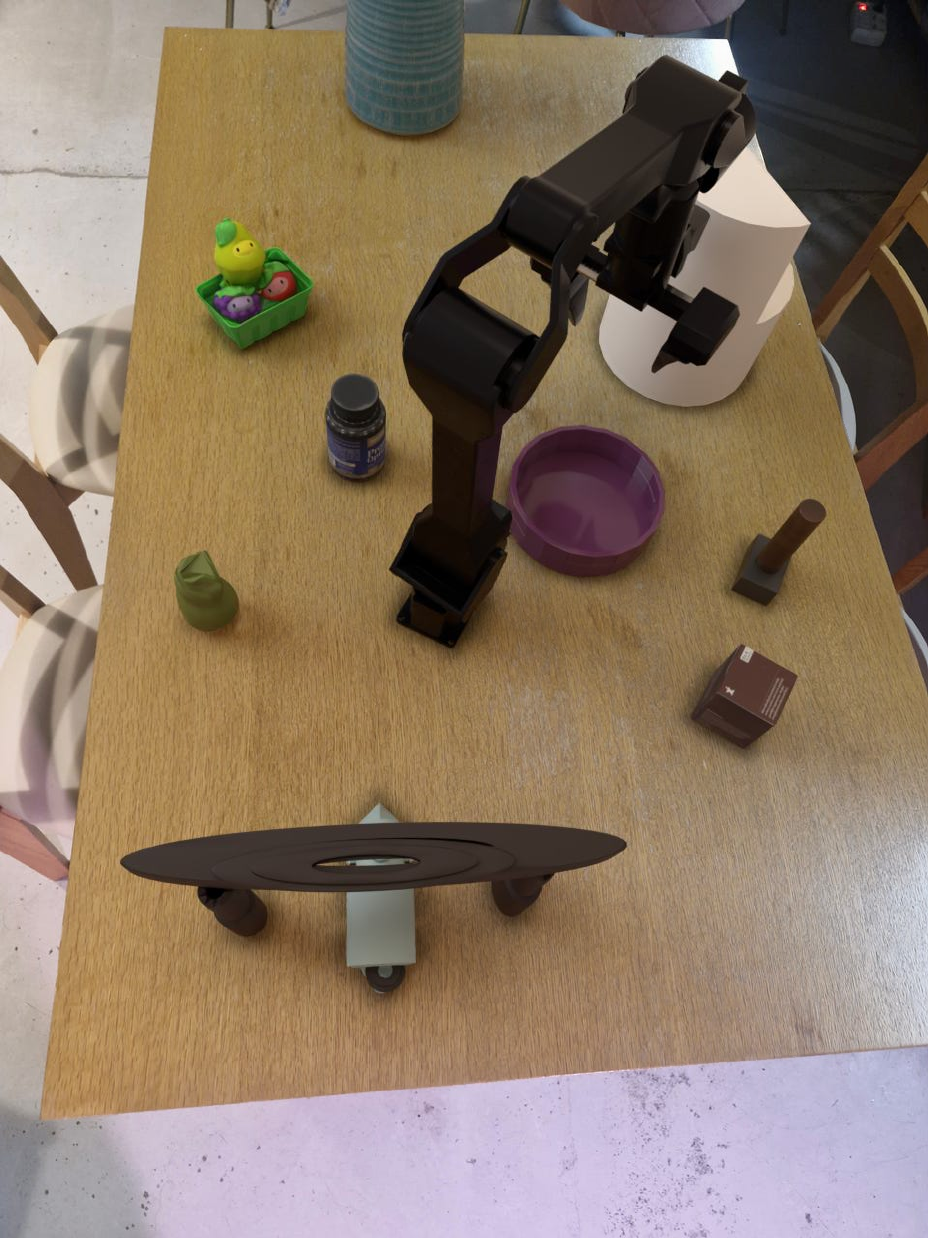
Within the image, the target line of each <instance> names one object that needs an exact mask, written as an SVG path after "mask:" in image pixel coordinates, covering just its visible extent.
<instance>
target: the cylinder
mask: <svg viewBox="0 0 928 1238" xmlns="http://www.w3.org/2000/svg"><path fill="white" fill-rule="evenodd" d="M695 204H696V205H698V206H700V207H701V208H703V209H705V210H706V211H708V212H709V214H710V218H709V220H708V223H707V225H706V227H705V229H704V231H703V233H702V235H701V237H700V240H699V242H698V244H697V246H696V248H695V250H694V251H691V252H690V253H689V254H688V255H687V258H686V261H685V264H684V266H683V269H682V271H681V272H680V273H679V275H678V276H677V277H676V278H673V277H672V276H670V279H669V282H668V284H670V285H671V286H673V287H675V288H677V289H679V290H680V291H682V292H684V293H686V294H687V295H689V296H691V297H693V298H695V297H696V296H697V294H698V293H699V292H700V290H701V289H702V288H703V287H706V288H708V289H710V290H712V291H714V292H715V293H717V294H719V295H721V296H722V297H724V298H726V299H728V300H730V301H731V302H733V303H735V304H737V305H738V306H739V311H740V316H739V318H738V320H737V322H736V324H735V326H734V328H733V329H732V331H731V332H730V333H729V335H728V336H727V337H726V339H725V340H724V341H723V343H722V344H721V345H720V347H719V348H718V349H717V351H716V352H715V353H714V355H713V356H712V357H711V359H710V360H709V361H708V363H707V364H706V365H703V366H696V365H694V364H692V363H690V364H683V363H681V362H679V361H677V362H674V363H671V364H668V365H666V366H664V367H663V368H662V369H660V370H659V371H657V372H656V373H653V372H651V369H652V365H653V363H654V361H655V359H656V357H657V355H658V353H659V351H660V349H661V347H662V346H663V344H664V343H665V342H666V341H667V339H668V336H669V334H670V332H671V330H672V329H673V327H674V325H675V323H676V322H677V321H675V320H673V319H671V318H670V317H668V316H666V315H665V314H663V313H661V312H659V311H658V310H656V309H654V308H652V307H651V306H649V305H647V306H646V307H645V309H644V310H643V311H642V312H640V311H639V310H637V309H635V308H634V307H632V306H630V305H628V304H627V303H625V302H623V301H621V300H620V299H618V298H616V297H615V296H613V295H611V294H609V296H608V300H607V303H606V305H605V309H604V312H603V315H602V319H601V321H600V325H599V330H598V331H599V332H598V344H599V347H600V352H601V354H602V357H603V359H604V362H605V363H606V364H607V366H608V368H610V370H611V372H612V374H614V375H615V376H616V377H617V378H618V379H619V380H620V381H621V382H622V383H623V384H624V385H625V386H626V387H628V388H629V389H631V390H633V391H635V392H636V393H637V394H640V395H641V396H643V397H644V398H647V399H650V400H653V401H654V402H655V401H656V402H658V403H660V404H664V405H669V406H677V407H684V408H689V407H701V406H707V405H710V404H713V403H716V402H719V401H722V400H724V399H725V398H727V397H728V396H730V395H731V394H733V393H734V392H736V391H737V389H738V388H739V387H740V386H741V384H742V382H743V381H744V380H745V379H746V376H747V375H748V373H749V372H750V370H751V368H752V366H753V365H754V363H755V362H756V360H757V358H758V356H759V354H760V353H761V351H762V349H763V348H764V346H765V344H766V342H767V341H768V339H769V337H770V335H771V333H772V331H773V330H774V328H775V326H776V325H777V323H778V321H779V319H780V317H781V316H782V314H783V312H784V310H785V309H786V307H787V305H788V304H789V302H790V300H791V299H792V295H793V290H794V286H795V277H794V275H795V274H794V268H793V265H792V263H791V261H792V259H793V258H794V255H795V254H796V252H797V250H798V248H799V246H800V245H801V243H802V241H803V239H804V237H805V235H806V234H807V232H808V230H809V228H810V226H811V224H812V223H811V222H810V220H808V218H807V217H806V215H804V213H803V212H802V211H801V210H800V209H799V207H798V206H797V205H796V204H795V203H794V202H793V200H792V199H791V197H790V196H789V195H788V194H787V193H786V192H785V191H784V190H783V188H782V187H781V186H780V184H779V183H778V182H777V181H776V180H775V178H774V177H773V176H772V174H770V172H769V171H768V170H767V169H766V168H765V166H764V165H763V164H762V163H761V162H760V160H759V159H758V158H757V156H755V154H754V153H753V152H752V151H751V150H750V148H749V147H748V145H747V146H746V148H745V149H744V150H743V151H742V152H741V154H740V155H739V156H738V157H737V159H736V160H735V161H734V162H733V164H732V165H731V166H730V167H729V168H728V170H727V171H726V172H725V173H724V175H723V176H722V177H721V178H720V179H719V181H718V182H717V183H716V184H715V186H714V187H713V188H712V189H711V190H710V191H708V192H707V193H701V192H699V194H698V197H697V200H696V203H695Z"/></svg>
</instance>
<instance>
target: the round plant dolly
mask: <svg viewBox="0 0 928 1238" xmlns="http://www.w3.org/2000/svg"><path fill="white" fill-rule="evenodd" d="M627 847H628V843H627V841H626V840H625V839H624V838H621V837H619V836H617V835H614V834H610V833H606V832H601V831H596V830H592V829H591V830H590V829H585V828H577V827H570V826H569V827H567V826H560V825H545V824H531V823H529V824H528V823H513V822H484V821H480V822H479V821H477V822H476V821H474V822H473V821H413V822H411V821H408V822H401V821H400V820H399V819H398V818H397V817H396V816H395V815H394V814H392V813H391V811H389V810H388V809H387V807H385V806H384V805H383V804H382V803H381V802H378V803H377V804H376V805H375V807H373V808H372V809H371V811H370V812H368V814H367V815H366V816H365V817H364V818H363V819H361V821H360V822H358V823H347V824H328V825H327V824H326V825H313V826H312V825H309V826H298V827H297V826H296V827H282V828H272V829H261V830H250V831H241V832H232V833H223V834H216V835H209V836H201V837H195V838H187V839H182V840H177V841H172V842H166V843H161V844H158V845H157V844H156V845H153V846H149V847H146V848H142V849H138V850H136V851H132V852H130V853H128V854H126V855H124V856H123V857H122V858H121V859H119V864H120V866H121V867H122V868H124V870H126V871H128V872H129V873H130V874H132V875H134V876H137V877H139V878H143V879H146V880H149V881H155V882H160V883H165V884H171V885H172V884H173V885H179V886H188V887H197V890H196V892H197V893H196V894H197V899H198V900H199V902H200V903H201V904H202V905H203V906H204V907H205V908H206V909H208V910H209V911H211V912H212V913H213V915H214V917H215V919H216V921H217V922H218V923H219V924H220V925H221V926H223V927H224V928H226V929H227V930H229V931H231V932H232V933H234V934H236V935H237V936H240V937H244V938H249V937H254V936H256V935H258V934H259V933H260V932H261V931H262V930H263V929H264V928H265V926H266V924H267V922H268V917H269V913H268V909H267V907H266V905H265V903H264V902H263V900H262V899H261V898H260V897H259V896H258V895H257V894H256V893H255V892H254V891H255V890H256V891H280V892H281V891H282V892H294V893H295V892H296V893H297V892H298V893H346V894H347V895H346V896H345V901H346V904H345V909H346V942H345V948H346V950H345V957H346V967H350V968H352V969H353V968H354V969H360V971H361V972H362V974H363V975H364V977H365V979H366V981H367V984H368V985H369V986H370V987H371V988H372V989H373V991H374V992H375V993H377V994H381V995H383V994H385V993H390V992H393V991H395V990H396V989H398V988H399V987H400V986H401V984H402V983H403V982H404V979H405V976H406V966H411V964H416V962H417V961H416V959H417V957H416V952H417V948H416V943H417V942H416V923H415V922H416V919H415V918H416V917H415V905H416V904H415V903H416V902H415V889H422V888H431V887H441V886H443V887H444V886H454V885H456V886H457V885H467V884H478V883H488V882H489V883H491V884H490V885H491V886H490V887H491V893H492V898H493V900H494V903H495V906H496V908H497V909H498V911H500V913H501V914H503V916H506V917H508V918H514V917H517V916H520V915H521V914H522V913H524V912H525V911H526V910H528V909H529V908H530V907H532V906H533V905H534V904H535V903H536V902H537V901H538V899H539V897H540V896H541V893H542V890H543V886H545V885H546V884H547V883H549V882H550V881H551V880H552V878H553V877H554V876H555V874H557V873H564V872H570V871H574V870H578V869H583V868H588V867H591V866H594V865H598V864H601V863H604V862H606V861H609V860H610V859H612V858H614V857H616V856H617V855H619V854H620V853H622V852H624V851H625V850H626V849H627ZM414 861H416V862H414ZM341 862H342V863H343V862H345V863H346V865H325V864H332V863H341ZM406 862H409V863H406ZM351 864H355V865H351Z"/></svg>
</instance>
